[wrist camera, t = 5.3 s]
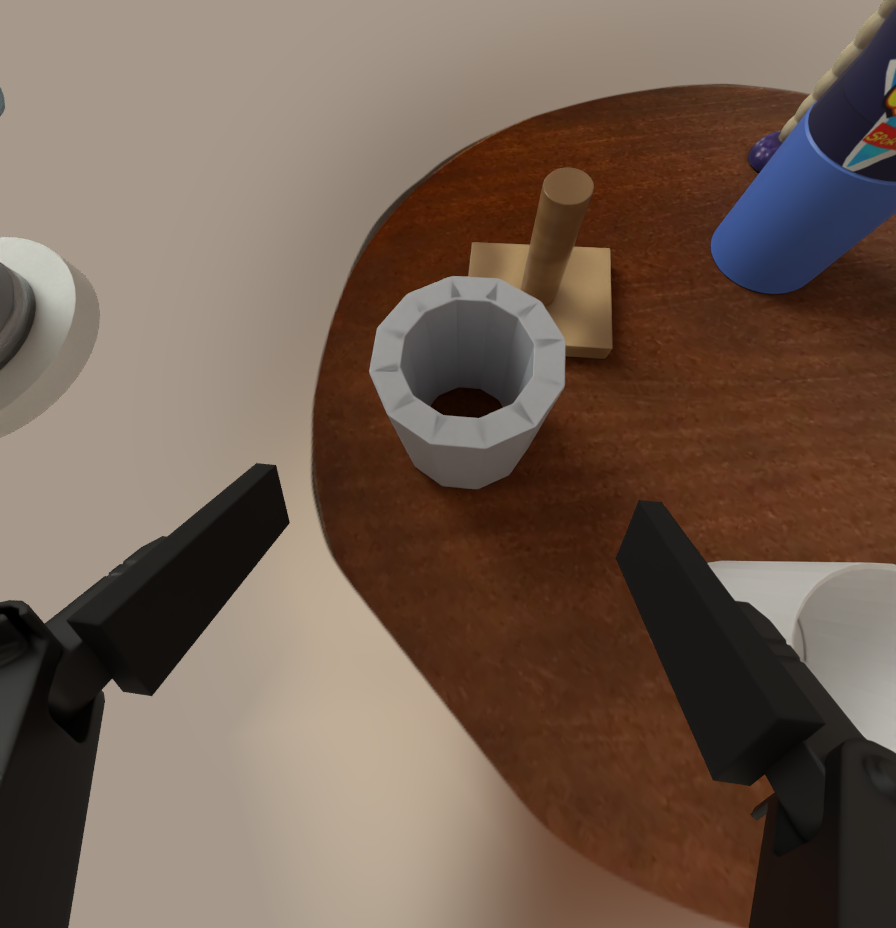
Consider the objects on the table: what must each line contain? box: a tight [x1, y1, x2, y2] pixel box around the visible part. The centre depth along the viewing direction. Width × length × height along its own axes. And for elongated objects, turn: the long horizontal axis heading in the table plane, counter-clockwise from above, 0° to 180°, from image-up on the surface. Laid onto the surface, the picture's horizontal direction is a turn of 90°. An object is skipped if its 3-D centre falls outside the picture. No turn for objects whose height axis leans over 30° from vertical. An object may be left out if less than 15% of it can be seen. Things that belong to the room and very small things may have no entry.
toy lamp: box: [748, 0, 896, 172], centre depth 25 cm, size 5×5×17 cm
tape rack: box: [468, 168, 613, 359], centre depth 25 cm, size 12×10×10 cm
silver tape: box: [369, 276, 566, 489], centre depth 22 cm, size 10×10×10 cm
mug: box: [707, 561, 896, 753], centre depth 18 cm, size 12×9×9 cm
